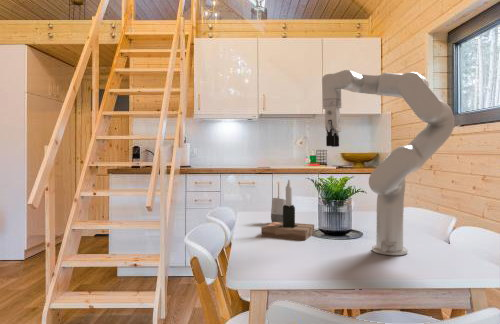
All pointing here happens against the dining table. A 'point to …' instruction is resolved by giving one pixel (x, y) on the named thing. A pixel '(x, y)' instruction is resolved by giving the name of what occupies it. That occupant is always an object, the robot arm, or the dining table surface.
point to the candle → (289, 209)
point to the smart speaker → (277, 209)
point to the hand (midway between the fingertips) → (332, 146)
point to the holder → (287, 231)
